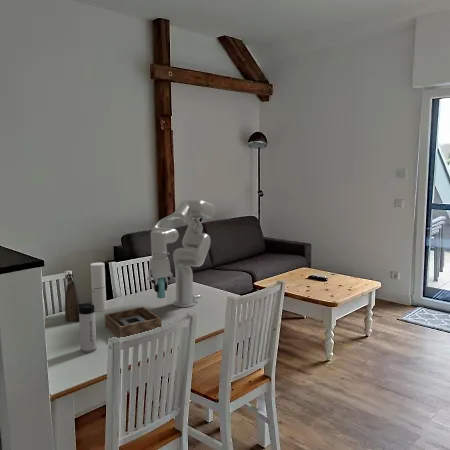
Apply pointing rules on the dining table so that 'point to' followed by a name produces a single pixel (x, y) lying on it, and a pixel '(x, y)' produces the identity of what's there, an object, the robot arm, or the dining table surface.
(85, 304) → the travel mug
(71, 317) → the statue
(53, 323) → the dining table surface
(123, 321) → the bore plate
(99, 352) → the dining table surface
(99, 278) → the cylindrical container
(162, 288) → the peg
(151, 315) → the box
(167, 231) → the robot arm
